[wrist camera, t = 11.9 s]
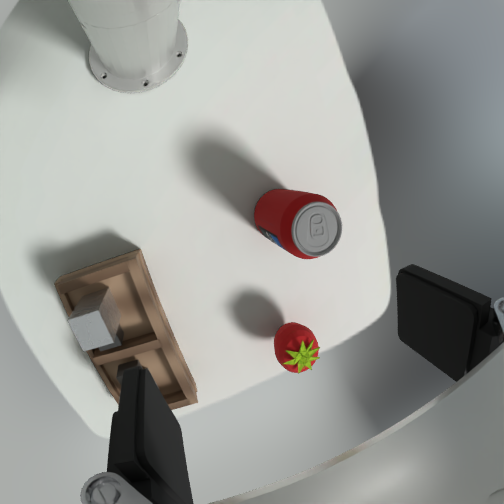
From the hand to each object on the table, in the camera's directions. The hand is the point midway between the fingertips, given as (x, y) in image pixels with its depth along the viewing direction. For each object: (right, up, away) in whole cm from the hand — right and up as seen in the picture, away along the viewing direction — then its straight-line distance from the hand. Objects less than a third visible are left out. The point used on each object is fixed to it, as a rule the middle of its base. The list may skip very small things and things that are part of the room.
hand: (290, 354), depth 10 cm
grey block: (-20, -4, +26) cm, 33 cm away
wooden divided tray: (-18, -8, +29) cm, 35 cm away
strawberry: (+3, -8, +36) cm, 37 cm away
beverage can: (+2, +8, +31) cm, 32 cm away
